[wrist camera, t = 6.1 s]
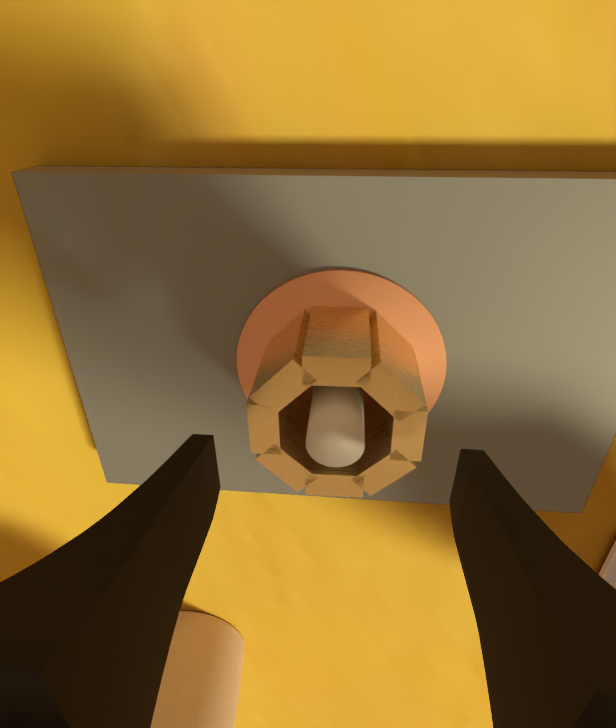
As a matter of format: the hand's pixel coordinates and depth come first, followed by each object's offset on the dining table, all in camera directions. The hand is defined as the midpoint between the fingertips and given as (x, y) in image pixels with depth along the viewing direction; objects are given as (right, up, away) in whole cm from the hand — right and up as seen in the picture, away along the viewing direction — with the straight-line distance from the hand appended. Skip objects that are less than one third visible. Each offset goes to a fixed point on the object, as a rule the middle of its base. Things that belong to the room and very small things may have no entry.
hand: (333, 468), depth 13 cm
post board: (+1, +4, +6) cm, 7 cm away
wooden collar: (0, +3, +5) cm, 5 cm away
